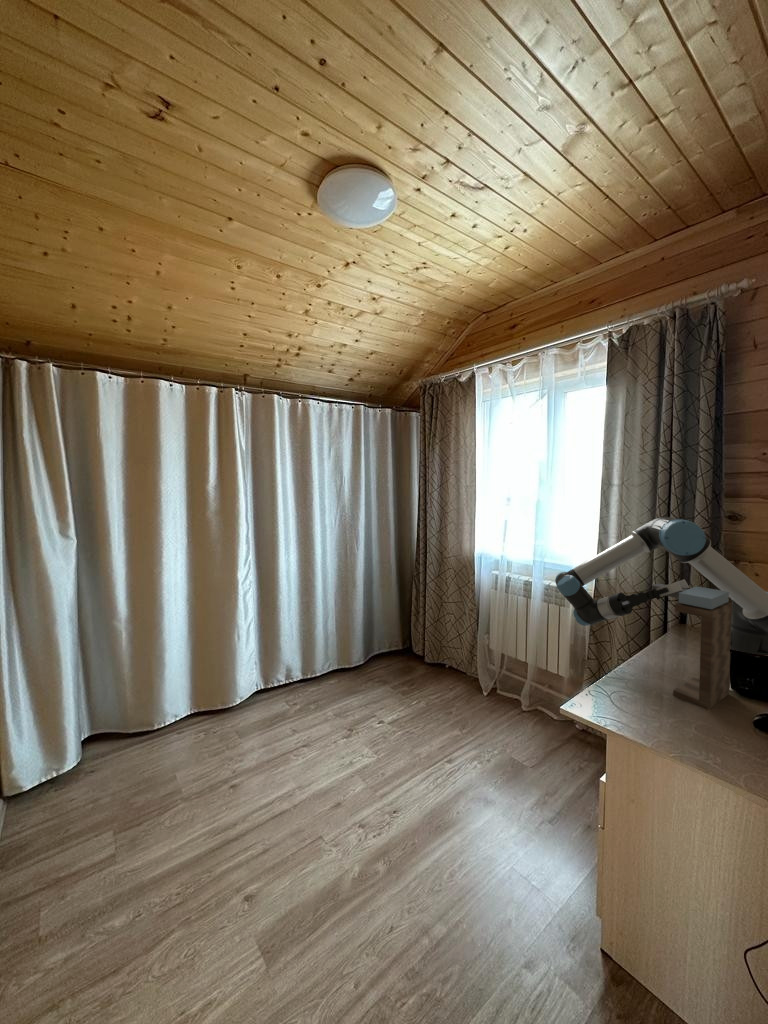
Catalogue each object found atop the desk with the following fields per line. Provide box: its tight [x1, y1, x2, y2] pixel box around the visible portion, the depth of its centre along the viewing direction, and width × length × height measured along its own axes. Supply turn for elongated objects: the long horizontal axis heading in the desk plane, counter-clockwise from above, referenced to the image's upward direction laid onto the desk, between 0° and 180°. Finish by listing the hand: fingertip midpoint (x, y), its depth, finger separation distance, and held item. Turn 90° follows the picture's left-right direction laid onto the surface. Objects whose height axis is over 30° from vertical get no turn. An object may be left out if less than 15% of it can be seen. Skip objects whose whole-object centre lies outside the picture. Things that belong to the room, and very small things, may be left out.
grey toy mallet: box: [651, 583, 730, 609], centre depth 122 cm, size 12×17×3 cm
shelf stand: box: [672, 602, 732, 710], centre depth 119 cm, size 14×9×28 cm, turn 122°
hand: (682, 584), depth 123 cm, fingers closed on grey toy mallet, 4 cm apart
